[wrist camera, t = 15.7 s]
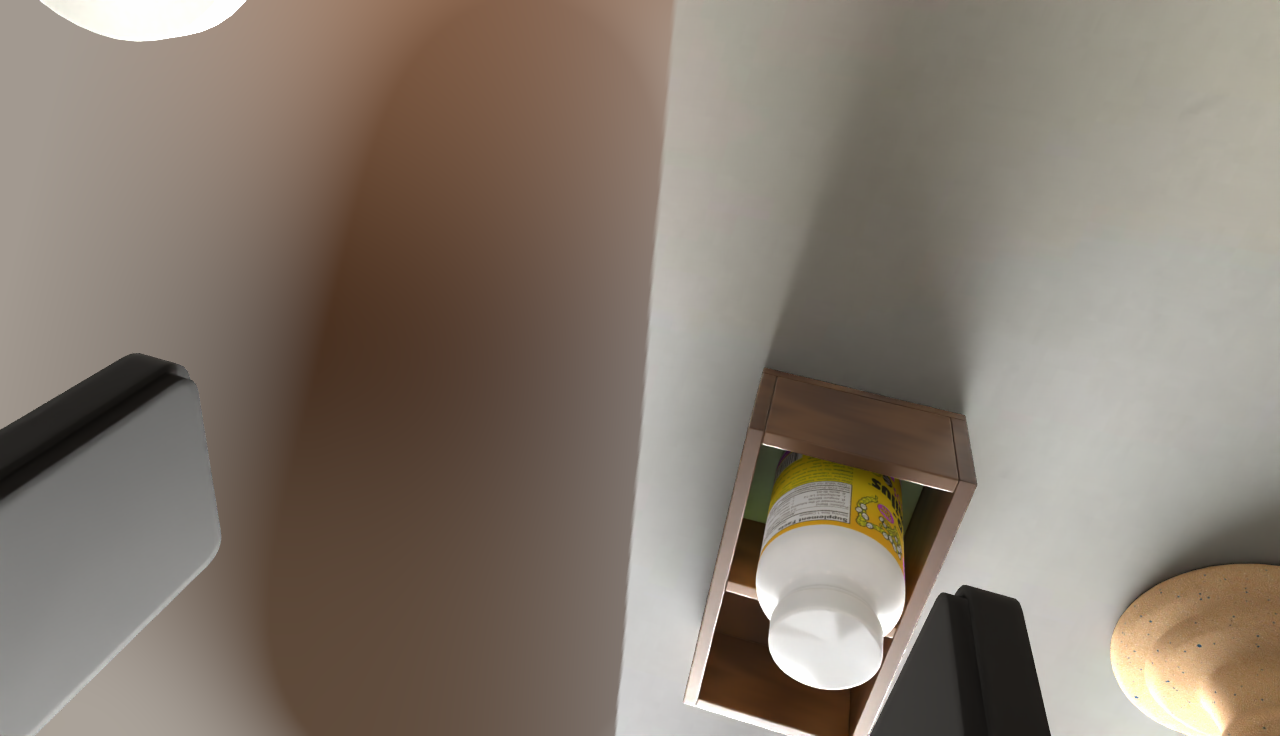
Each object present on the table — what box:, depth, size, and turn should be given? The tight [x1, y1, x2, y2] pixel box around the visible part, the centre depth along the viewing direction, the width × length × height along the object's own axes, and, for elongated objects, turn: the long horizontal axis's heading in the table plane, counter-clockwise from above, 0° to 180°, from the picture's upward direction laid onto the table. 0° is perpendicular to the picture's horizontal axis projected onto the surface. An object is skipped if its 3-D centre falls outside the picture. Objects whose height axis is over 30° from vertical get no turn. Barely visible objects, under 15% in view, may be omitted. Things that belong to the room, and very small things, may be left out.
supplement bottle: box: [756, 450, 905, 690], centre depth 39 cm, size 7×7×13 cm
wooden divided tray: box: [683, 368, 977, 736], centre depth 45 cm, size 11×20×6 cm, turn 173°
